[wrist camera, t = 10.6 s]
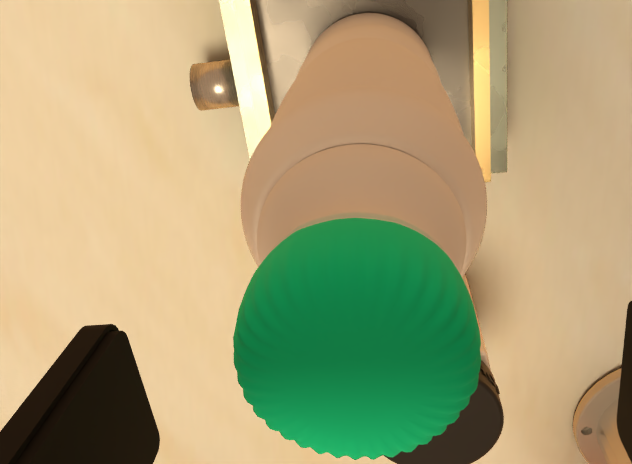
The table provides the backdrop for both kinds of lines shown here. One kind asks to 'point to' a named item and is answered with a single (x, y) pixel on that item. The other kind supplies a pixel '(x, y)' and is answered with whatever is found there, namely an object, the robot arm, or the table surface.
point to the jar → (465, 424)
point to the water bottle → (361, 250)
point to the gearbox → (337, 3)
